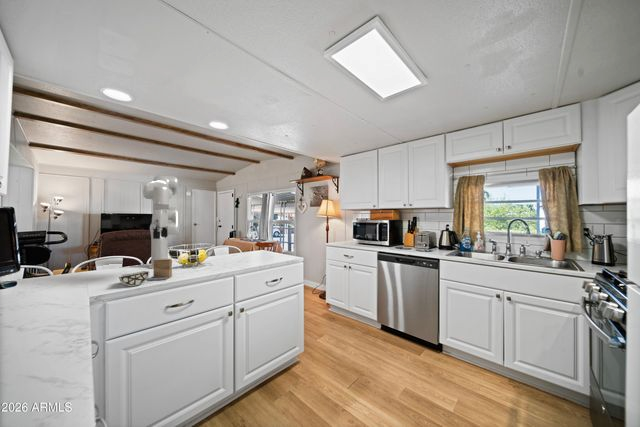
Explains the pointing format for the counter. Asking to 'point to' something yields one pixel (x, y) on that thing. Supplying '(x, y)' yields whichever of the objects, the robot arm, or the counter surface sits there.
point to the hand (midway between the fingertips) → (160, 237)
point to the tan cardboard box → (162, 268)
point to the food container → (134, 278)
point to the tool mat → (157, 279)
